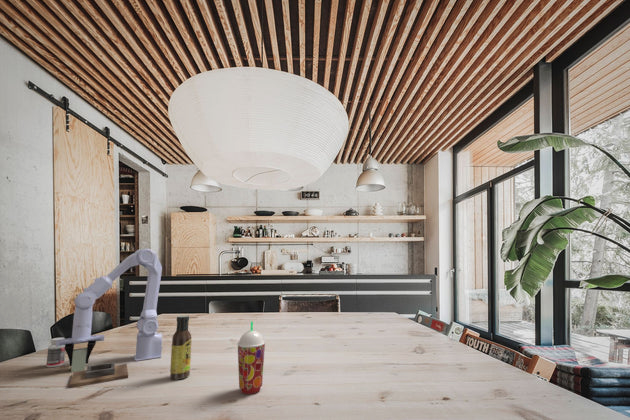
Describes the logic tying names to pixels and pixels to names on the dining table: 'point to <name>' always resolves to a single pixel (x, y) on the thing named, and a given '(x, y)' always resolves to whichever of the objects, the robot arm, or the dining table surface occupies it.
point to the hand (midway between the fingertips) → (79, 364)
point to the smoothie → (251, 361)
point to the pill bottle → (55, 354)
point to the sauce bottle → (181, 349)
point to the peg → (79, 359)
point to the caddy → (99, 374)
